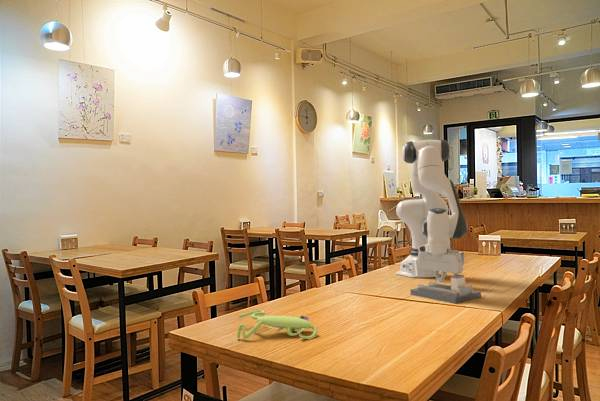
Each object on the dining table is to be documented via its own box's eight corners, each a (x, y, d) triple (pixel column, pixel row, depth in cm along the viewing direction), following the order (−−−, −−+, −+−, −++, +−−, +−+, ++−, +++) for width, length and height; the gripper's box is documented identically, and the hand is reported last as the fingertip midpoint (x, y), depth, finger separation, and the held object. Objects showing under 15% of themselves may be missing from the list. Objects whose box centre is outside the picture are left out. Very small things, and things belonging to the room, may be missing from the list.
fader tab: (451, 293, 176) (450, 275, 176) (459, 291, 179) (458, 274, 179) (457, 294, 173) (457, 276, 173) (465, 292, 176) (465, 275, 176)
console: (410, 294, 186) (410, 282, 186) (435, 288, 195) (435, 277, 195) (455, 303, 168) (454, 290, 168) (481, 296, 177) (480, 284, 177)
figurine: (242, 324, 152) (241, 308, 152) (320, 323, 149) (320, 307, 149) (227, 342, 134) (226, 323, 134) (316, 341, 131) (315, 322, 131)
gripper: (465, 249, 176) (467, 284, 177) (424, 245, 193) (425, 277, 193) (455, 251, 173) (457, 286, 173) (414, 247, 190) (416, 279, 190)
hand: (440, 281), depth 183 cm, fingers closed
